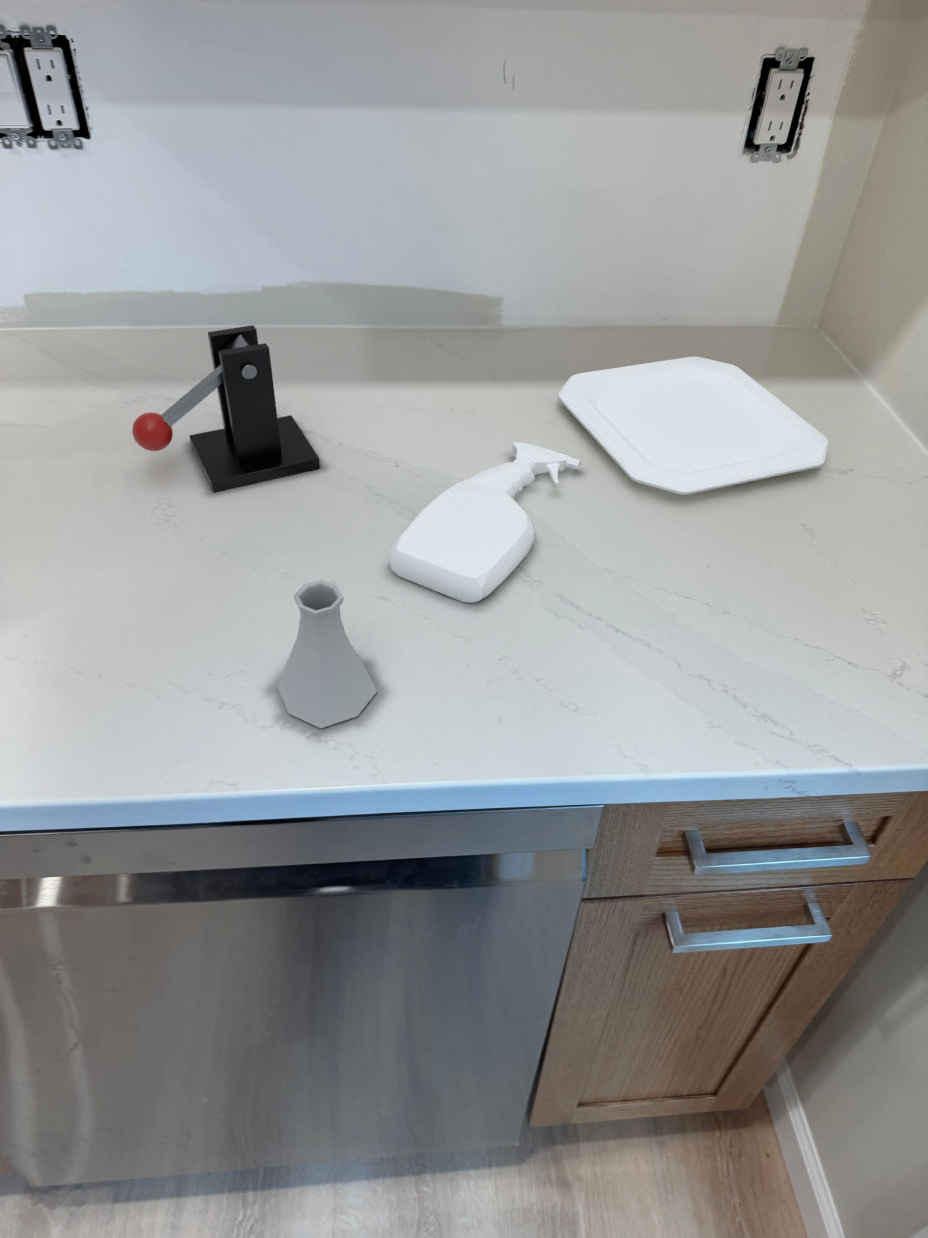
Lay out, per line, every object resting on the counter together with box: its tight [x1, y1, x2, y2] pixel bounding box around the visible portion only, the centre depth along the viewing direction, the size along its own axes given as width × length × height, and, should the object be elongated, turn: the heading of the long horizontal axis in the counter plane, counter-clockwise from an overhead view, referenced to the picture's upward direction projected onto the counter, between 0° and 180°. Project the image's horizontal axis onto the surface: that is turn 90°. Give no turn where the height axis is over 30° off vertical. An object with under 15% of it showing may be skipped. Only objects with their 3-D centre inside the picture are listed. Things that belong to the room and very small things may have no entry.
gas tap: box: [188, 324, 321, 493], centre depth 81 cm, size 11×9×13 cm
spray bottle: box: [387, 441, 582, 604], centre depth 79 cm, size 3×11×25 cm
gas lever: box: [131, 335, 251, 452], centre depth 78 cm, size 14×4×4 cm
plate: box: [557, 355, 829, 496], centre depth 92 cm, size 25×25×2 cm
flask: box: [276, 579, 378, 729], centre depth 60 cm, size 7×7×10 cm
